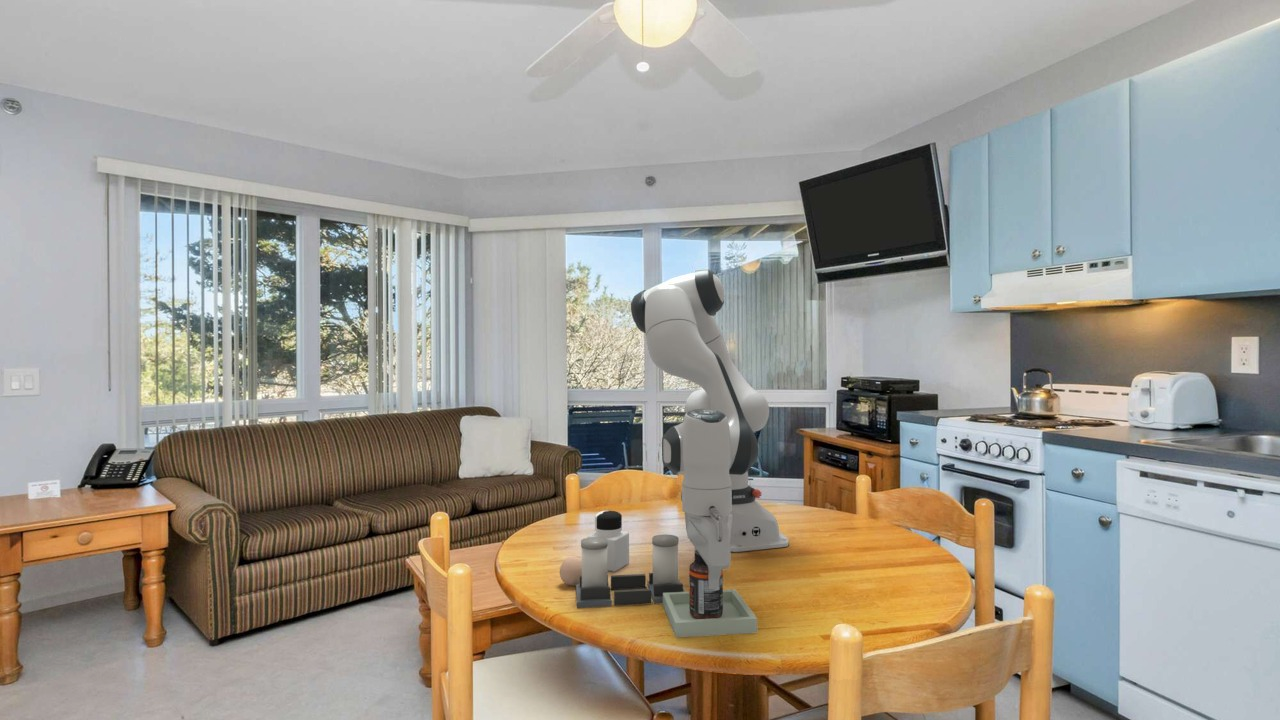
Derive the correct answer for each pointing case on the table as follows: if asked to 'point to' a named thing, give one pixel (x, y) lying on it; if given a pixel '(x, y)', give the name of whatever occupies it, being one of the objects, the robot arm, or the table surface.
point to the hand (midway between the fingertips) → (707, 578)
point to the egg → (571, 570)
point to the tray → (731, 622)
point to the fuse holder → (596, 579)
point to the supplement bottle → (704, 591)
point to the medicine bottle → (613, 538)
